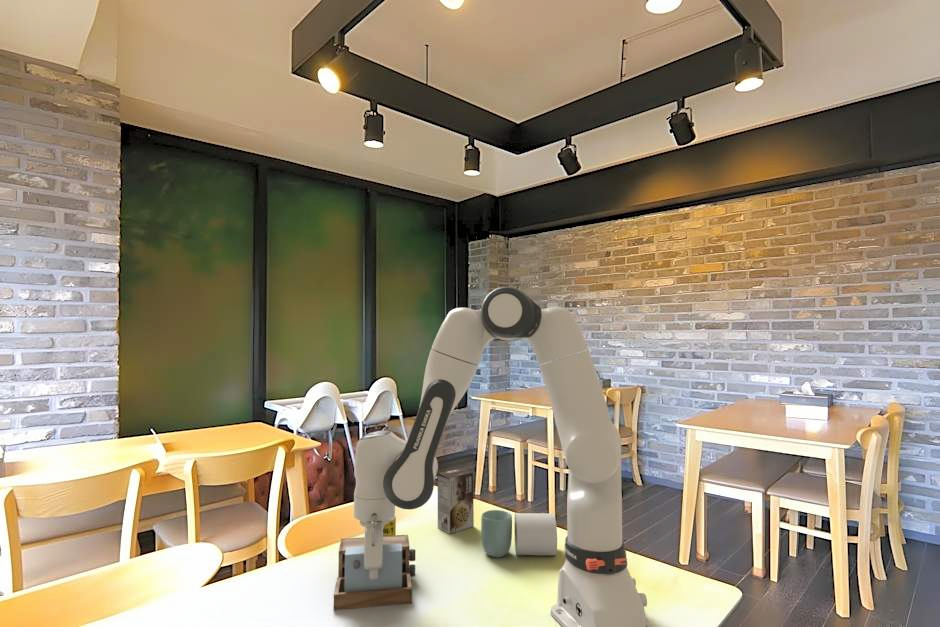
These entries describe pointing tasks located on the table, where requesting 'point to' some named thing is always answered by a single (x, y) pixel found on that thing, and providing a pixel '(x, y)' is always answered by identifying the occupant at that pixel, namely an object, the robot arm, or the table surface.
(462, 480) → the coffee box
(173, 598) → the table surface
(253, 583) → the table surface
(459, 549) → the table surface
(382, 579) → the door
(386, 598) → the cabinet
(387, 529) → the supplement bottle
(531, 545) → the toilet paper
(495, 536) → the cup
